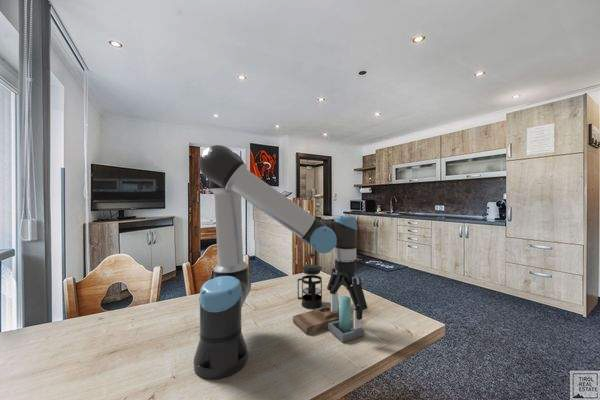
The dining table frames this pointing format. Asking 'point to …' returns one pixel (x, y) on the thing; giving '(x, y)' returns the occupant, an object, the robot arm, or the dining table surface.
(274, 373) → the dining table surface
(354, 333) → the tray
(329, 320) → the brown flat block
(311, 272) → the french press
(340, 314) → the dowel
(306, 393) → the dining table surface
